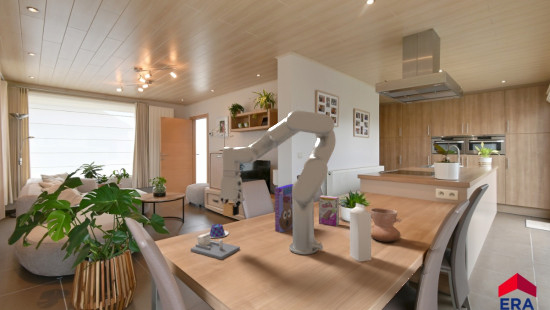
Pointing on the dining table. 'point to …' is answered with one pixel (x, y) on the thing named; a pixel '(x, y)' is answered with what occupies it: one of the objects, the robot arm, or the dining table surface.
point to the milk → (360, 233)
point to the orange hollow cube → (228, 209)
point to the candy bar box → (329, 210)
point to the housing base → (216, 249)
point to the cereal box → (283, 208)
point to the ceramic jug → (384, 225)
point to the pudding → (217, 231)
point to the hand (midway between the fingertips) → (231, 213)
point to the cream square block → (204, 239)
